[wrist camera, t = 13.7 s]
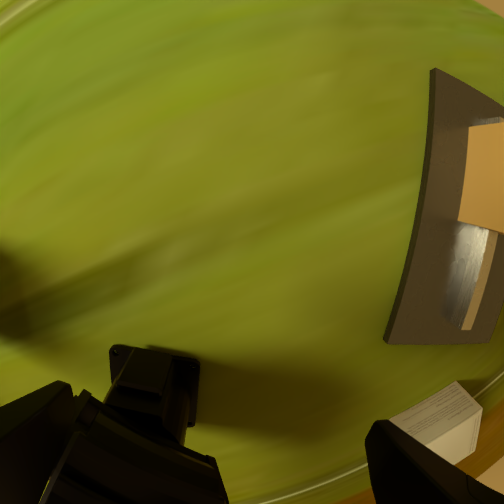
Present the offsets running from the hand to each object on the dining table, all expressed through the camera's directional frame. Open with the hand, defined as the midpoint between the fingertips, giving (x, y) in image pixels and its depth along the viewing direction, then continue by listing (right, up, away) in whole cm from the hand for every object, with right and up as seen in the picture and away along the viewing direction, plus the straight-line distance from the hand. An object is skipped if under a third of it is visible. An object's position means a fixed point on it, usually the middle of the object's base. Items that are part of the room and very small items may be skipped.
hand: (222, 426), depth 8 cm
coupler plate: (+18, +7, +12) cm, 23 cm away
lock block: (+18, +10, +10) cm, 23 cm away
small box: (+18, -12, +17) cm, 27 cm away
